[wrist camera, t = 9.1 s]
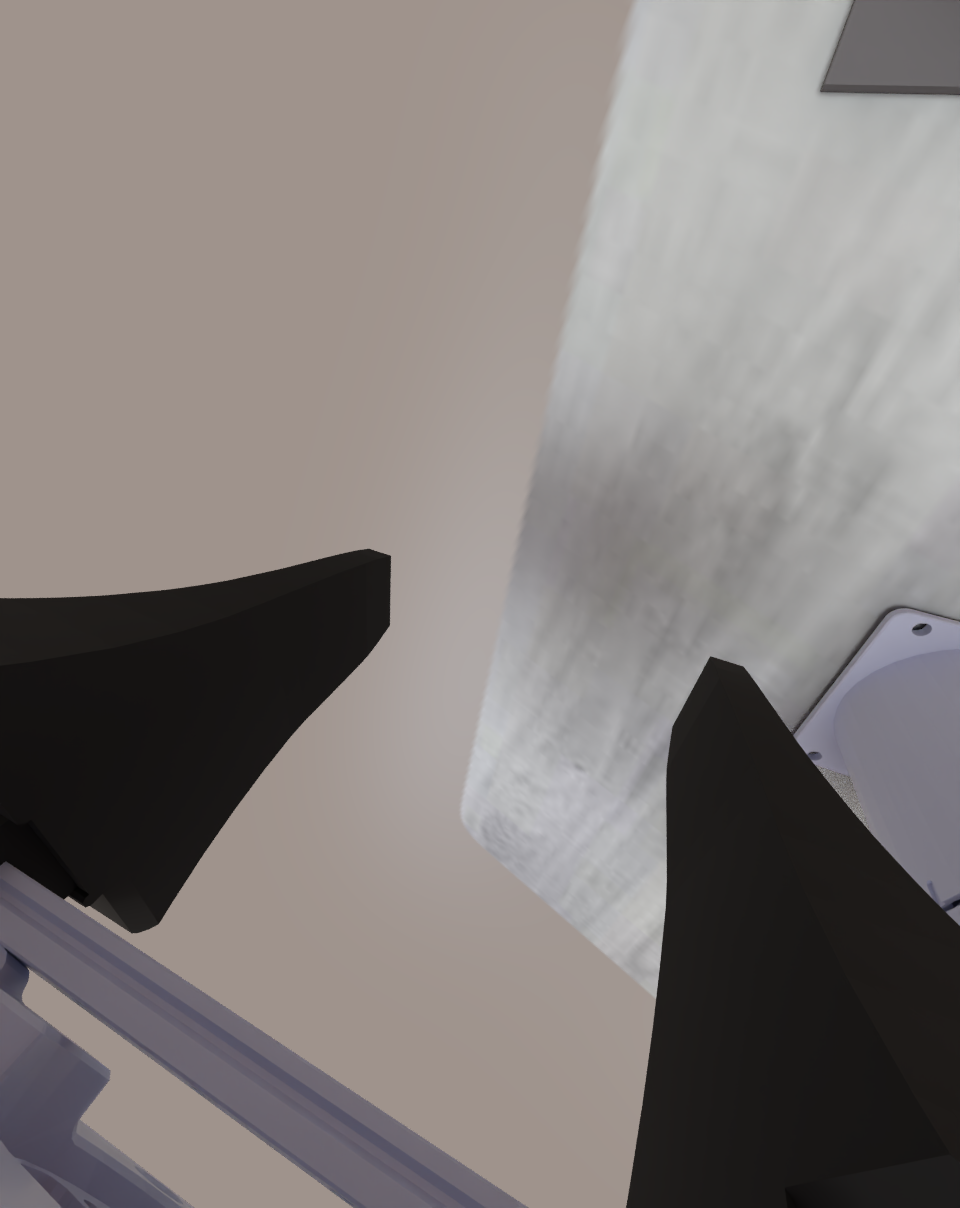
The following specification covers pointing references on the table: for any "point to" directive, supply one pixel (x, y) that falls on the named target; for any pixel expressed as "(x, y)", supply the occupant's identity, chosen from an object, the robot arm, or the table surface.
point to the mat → (898, 48)
